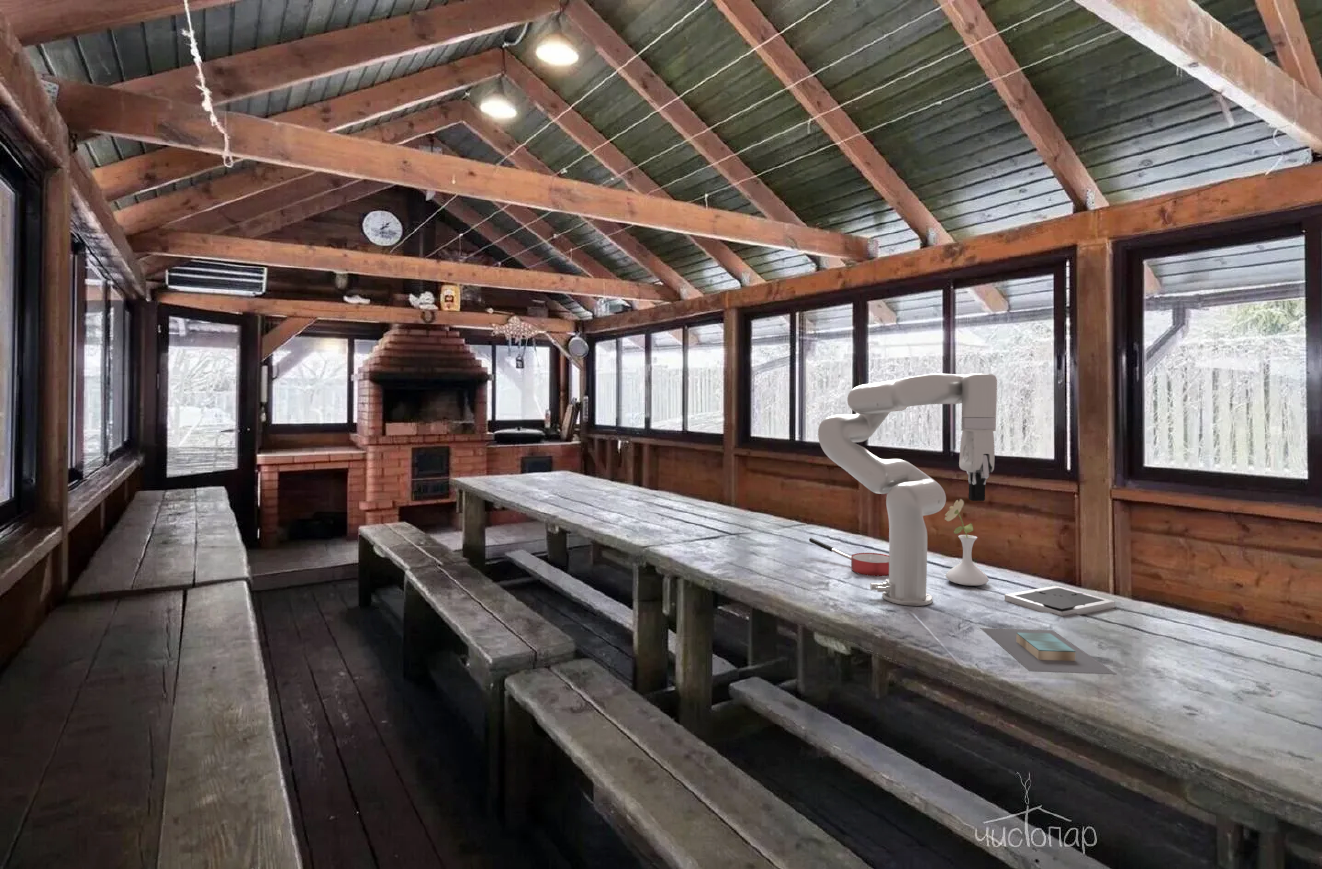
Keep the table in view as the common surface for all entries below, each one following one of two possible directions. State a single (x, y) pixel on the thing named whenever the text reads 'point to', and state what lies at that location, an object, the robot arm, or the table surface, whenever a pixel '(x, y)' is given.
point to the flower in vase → (964, 553)
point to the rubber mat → (1029, 661)
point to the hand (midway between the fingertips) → (976, 500)
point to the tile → (1045, 646)
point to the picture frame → (1059, 601)
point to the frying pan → (863, 561)
